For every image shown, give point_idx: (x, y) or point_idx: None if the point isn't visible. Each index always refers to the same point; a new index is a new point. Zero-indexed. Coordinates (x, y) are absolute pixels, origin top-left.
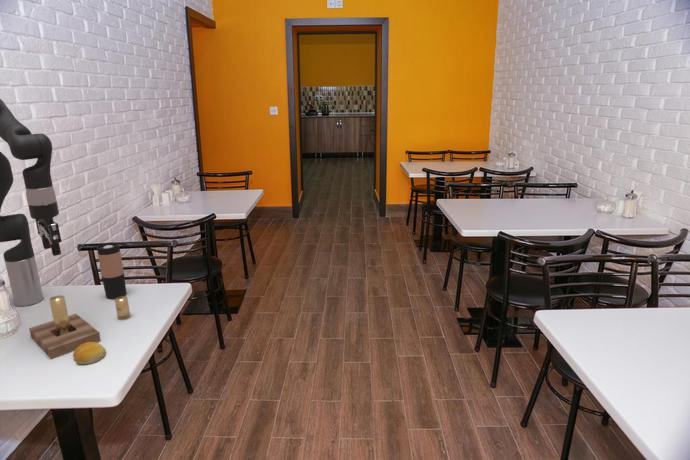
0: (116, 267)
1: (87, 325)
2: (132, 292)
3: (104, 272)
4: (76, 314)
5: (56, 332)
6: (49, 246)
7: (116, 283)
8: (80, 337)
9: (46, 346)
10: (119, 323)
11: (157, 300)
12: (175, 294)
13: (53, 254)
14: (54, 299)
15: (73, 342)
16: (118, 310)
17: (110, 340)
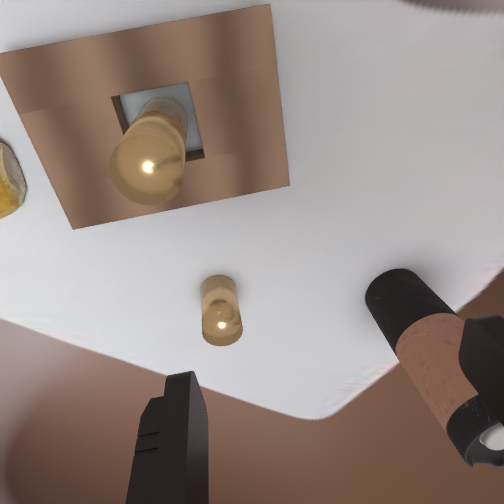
0: (412, 377)
1: (155, 205)
2: (376, 326)
3: (428, 335)
4: (278, 186)
5: (154, 102)
6: (470, 365)
7: (385, 328)
8: (57, 173)
9: (30, 48)
10: (182, 274)
11: (272, 364)
12: (277, 398)
13: (168, 384)
14: (129, 159)
15: (35, 145)
16: (208, 297)
17: (70, 239)
